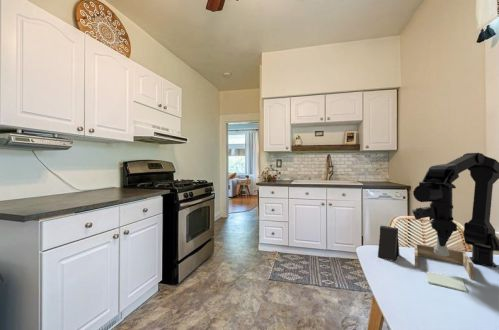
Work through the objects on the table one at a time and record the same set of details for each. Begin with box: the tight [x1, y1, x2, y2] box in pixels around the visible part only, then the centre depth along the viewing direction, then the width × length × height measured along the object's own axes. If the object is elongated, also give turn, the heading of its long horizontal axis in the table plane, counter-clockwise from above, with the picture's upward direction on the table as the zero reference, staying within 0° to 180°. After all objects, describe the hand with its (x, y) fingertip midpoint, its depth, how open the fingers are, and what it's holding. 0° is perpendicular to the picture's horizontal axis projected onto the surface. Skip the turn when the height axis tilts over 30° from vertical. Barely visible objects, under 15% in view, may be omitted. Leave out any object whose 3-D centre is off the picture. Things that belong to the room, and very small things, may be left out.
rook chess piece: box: [433, 232, 450, 256], centre depth 81 cm, size 4×4×8 cm
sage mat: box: [426, 271, 468, 293], centre depth 73 cm, size 9×9×1 cm
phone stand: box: [377, 225, 400, 262], centre depth 94 cm, size 9×6×12 cm, turn 136°
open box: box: [414, 243, 475, 280], centre depth 85 cm, size 16×16×4 cm
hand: (441, 245), depth 81 cm, fingers closed on rook chess piece, 3 cm apart
